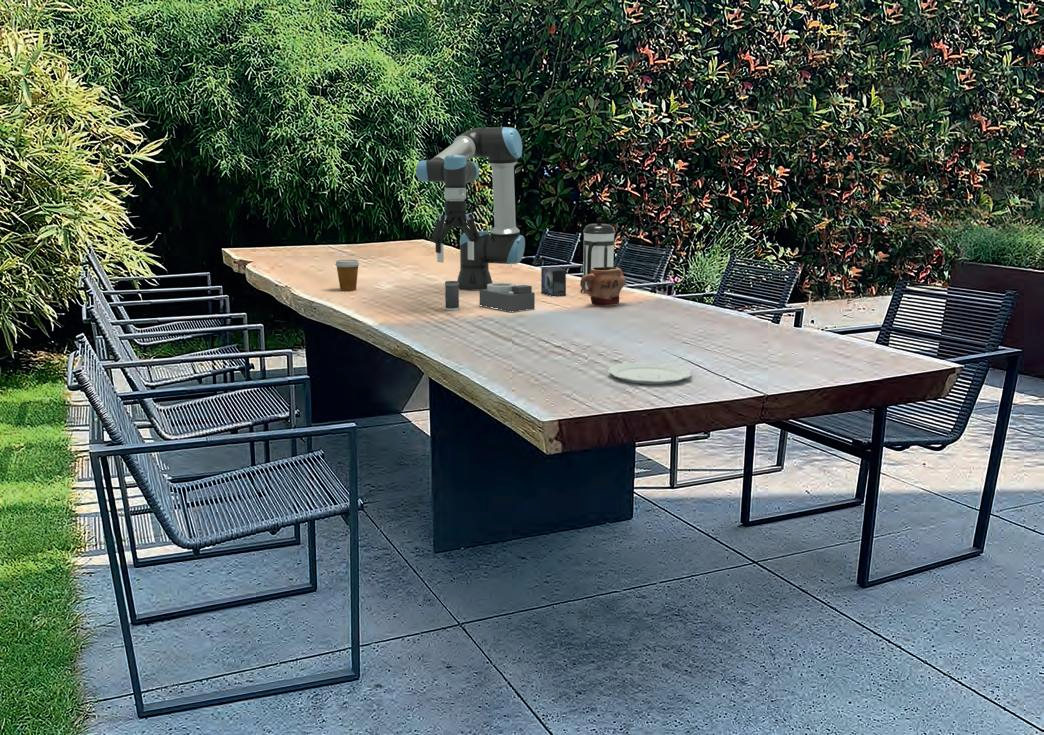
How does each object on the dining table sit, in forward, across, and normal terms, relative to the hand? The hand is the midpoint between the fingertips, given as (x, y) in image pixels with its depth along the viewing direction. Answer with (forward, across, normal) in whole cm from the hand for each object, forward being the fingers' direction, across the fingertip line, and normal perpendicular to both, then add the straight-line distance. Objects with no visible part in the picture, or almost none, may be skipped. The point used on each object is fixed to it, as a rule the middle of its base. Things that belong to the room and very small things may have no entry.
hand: (455, 261), depth 334 cm
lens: (+17, -1, +1) cm, 17 cm away
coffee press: (+17, +69, -4) cm, 71 cm away
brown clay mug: (+17, +47, -27) cm, 57 cm away
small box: (+17, +52, +4) cm, 55 cm away
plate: (+18, -26, -113) cm, 117 cm away
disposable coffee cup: (+17, -5, +66) cm, 68 cm away
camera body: (+17, +16, -9) cm, 25 cm away
